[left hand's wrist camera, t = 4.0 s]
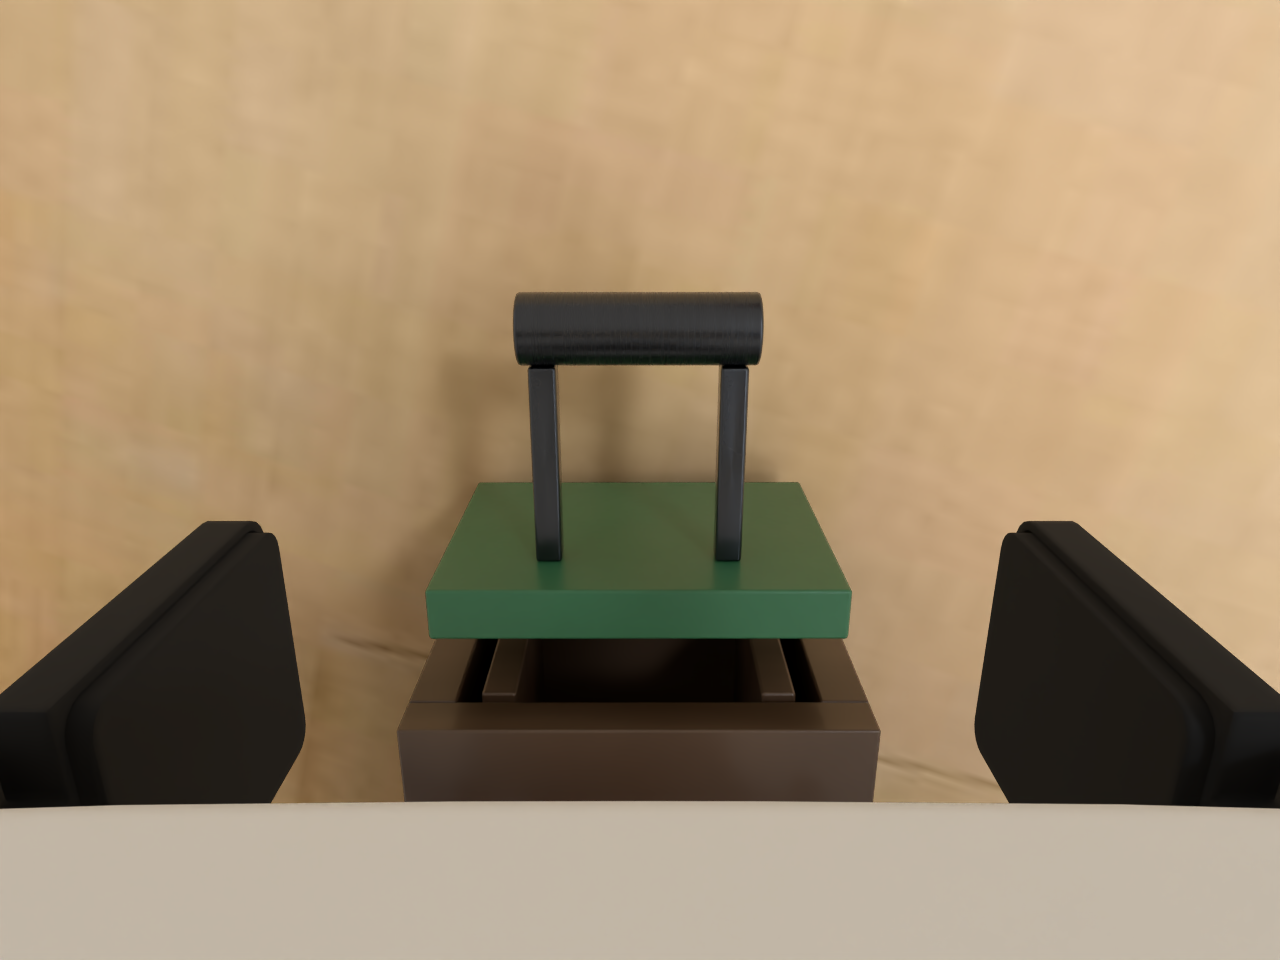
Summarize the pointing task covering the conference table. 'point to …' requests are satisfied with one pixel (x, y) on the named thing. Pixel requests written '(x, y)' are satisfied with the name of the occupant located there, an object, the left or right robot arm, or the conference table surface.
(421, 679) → the brown open box
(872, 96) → the conference table surface
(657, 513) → the drawer
